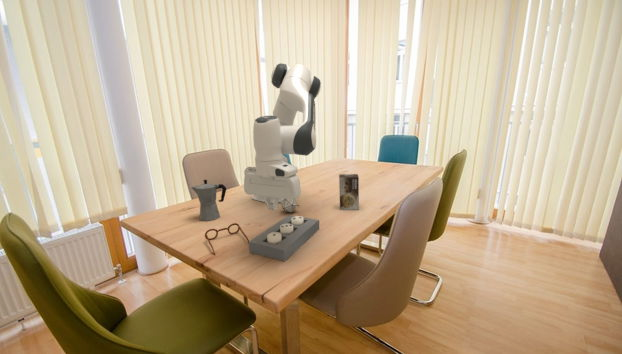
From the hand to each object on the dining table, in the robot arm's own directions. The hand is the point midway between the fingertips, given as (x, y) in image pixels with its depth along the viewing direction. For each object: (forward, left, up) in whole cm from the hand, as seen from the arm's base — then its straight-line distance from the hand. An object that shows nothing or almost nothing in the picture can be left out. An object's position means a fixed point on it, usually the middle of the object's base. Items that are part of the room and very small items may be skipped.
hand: (272, 209), depth 89 cm
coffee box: (+10, +49, -15) cm, 52 cm away
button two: (0, +16, -13) cm, 20 cm away
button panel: (0, +8, -15) cm, 17 cm away
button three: (0, +8, -13) cm, 15 cm away
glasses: (-19, -2, -15) cm, 25 cm away
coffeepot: (-44, +14, -15) cm, 49 cm away
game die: (-14, +33, -15) cm, 39 cm away
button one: (0, 0, -13) cm, 13 cm away
